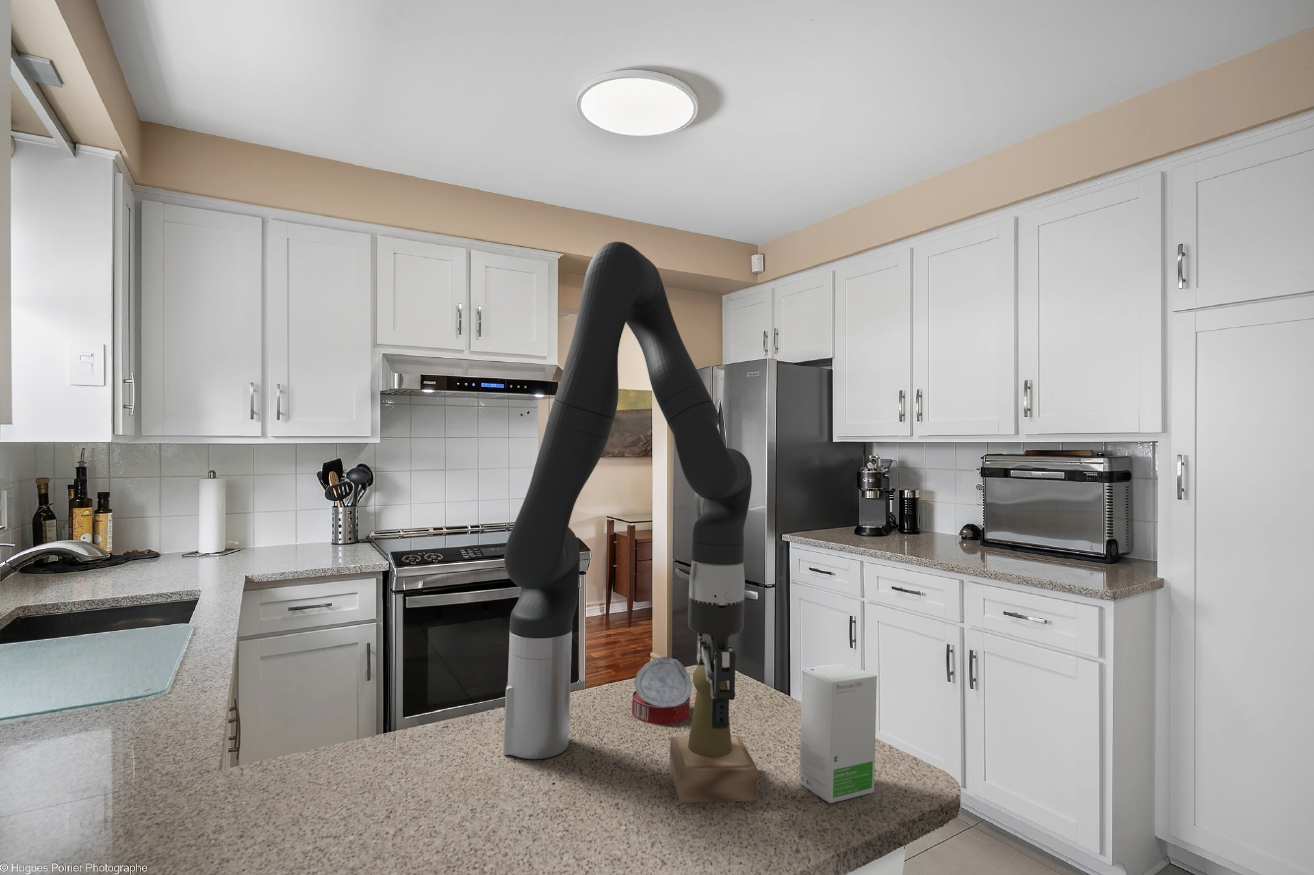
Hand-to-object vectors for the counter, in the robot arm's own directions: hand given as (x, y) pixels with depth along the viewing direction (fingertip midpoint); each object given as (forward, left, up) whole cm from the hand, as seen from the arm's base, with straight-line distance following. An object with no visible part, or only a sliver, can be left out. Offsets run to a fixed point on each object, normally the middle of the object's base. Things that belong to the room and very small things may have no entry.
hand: (713, 714), depth 90 cm
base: (0, 0, -9) cm, 9 cm away
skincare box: (+17, -2, -9) cm, 19 cm away
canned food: (-4, +24, -10) cm, 26 cm away
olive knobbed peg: (0, +1, -5) cm, 5 cm away
